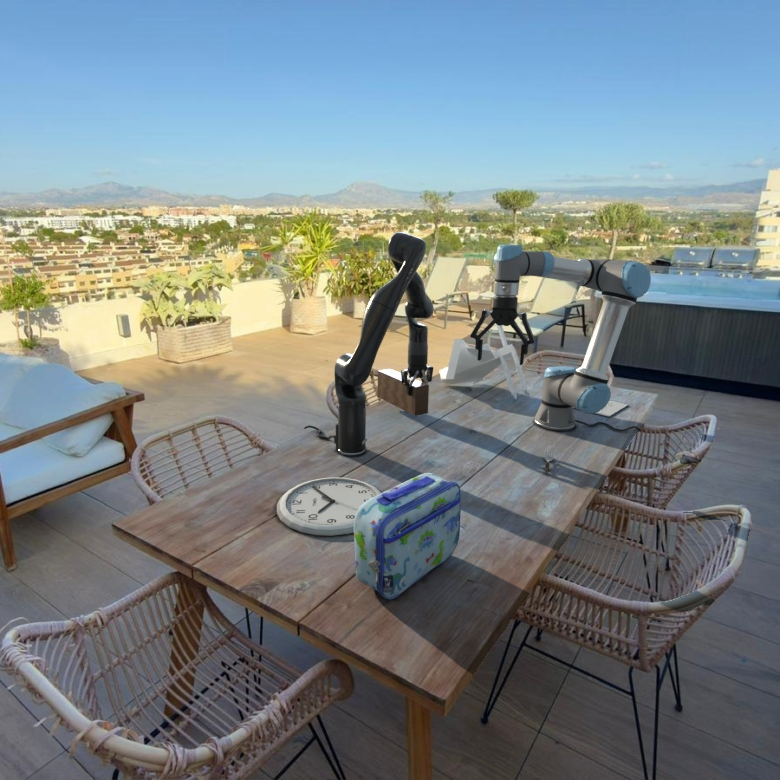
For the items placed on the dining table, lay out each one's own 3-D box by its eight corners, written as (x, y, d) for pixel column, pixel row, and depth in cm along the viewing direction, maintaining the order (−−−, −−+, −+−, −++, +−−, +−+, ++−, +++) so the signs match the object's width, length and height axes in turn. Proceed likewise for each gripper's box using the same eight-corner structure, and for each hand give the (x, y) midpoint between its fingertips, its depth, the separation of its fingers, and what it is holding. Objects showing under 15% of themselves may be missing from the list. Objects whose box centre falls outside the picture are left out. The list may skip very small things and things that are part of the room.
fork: (541, 474, 162) (542, 468, 162) (545, 454, 177) (545, 449, 176) (550, 476, 162) (550, 470, 161) (553, 456, 176) (553, 450, 175)
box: (377, 396, 223) (377, 370, 220) (389, 394, 226) (390, 368, 223) (414, 416, 201) (415, 387, 198) (427, 413, 204) (429, 384, 201)
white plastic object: (461, 429, 252) (437, 405, 227) (444, 352, 274) (420, 323, 250) (535, 404, 240) (518, 377, 215) (510, 326, 262) (492, 293, 237)
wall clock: (392, 527, 129) (268, 531, 127) (391, 533, 130) (269, 537, 127) (383, 473, 158) (282, 475, 155) (383, 478, 158) (282, 480, 156)
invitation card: (608, 416, 214) (573, 407, 224) (608, 416, 214) (573, 408, 224) (628, 404, 229) (594, 396, 238) (628, 405, 229) (594, 397, 238)
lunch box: (382, 612, 103) (384, 519, 97) (347, 586, 110) (346, 498, 104) (464, 557, 121) (469, 475, 114) (429, 538, 128) (432, 460, 122)
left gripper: (407, 356, 192) (406, 399, 197) (438, 351, 199) (437, 393, 204) (396, 352, 198) (395, 394, 203) (427, 348, 205) (425, 388, 210)
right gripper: (463, 294, 164) (459, 360, 171) (545, 299, 156) (538, 368, 162) (469, 292, 171) (465, 355, 177) (548, 297, 162) (541, 363, 169)
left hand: (416, 393), depth 203 cm, fingers closed on box, 6 cm apart
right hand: (500, 361), depth 170 cm, fingers open, 13 cm apart
